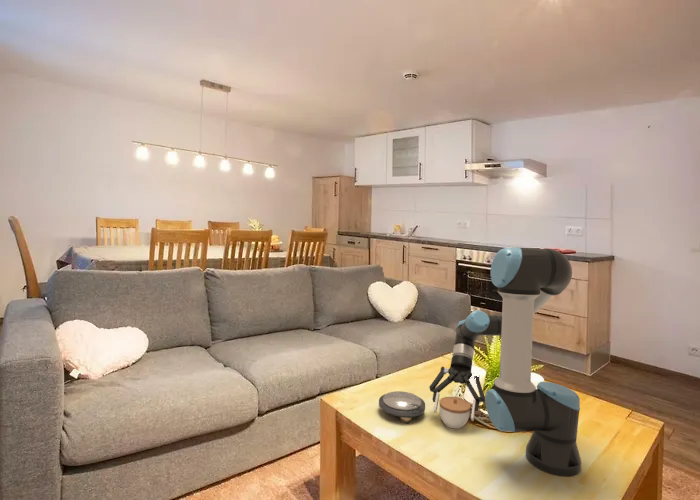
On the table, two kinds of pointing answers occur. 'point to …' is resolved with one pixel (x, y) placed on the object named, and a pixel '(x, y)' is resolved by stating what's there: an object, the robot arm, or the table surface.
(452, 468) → the table surface
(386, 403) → the base
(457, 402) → the lidded jar
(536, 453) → the robot arm
